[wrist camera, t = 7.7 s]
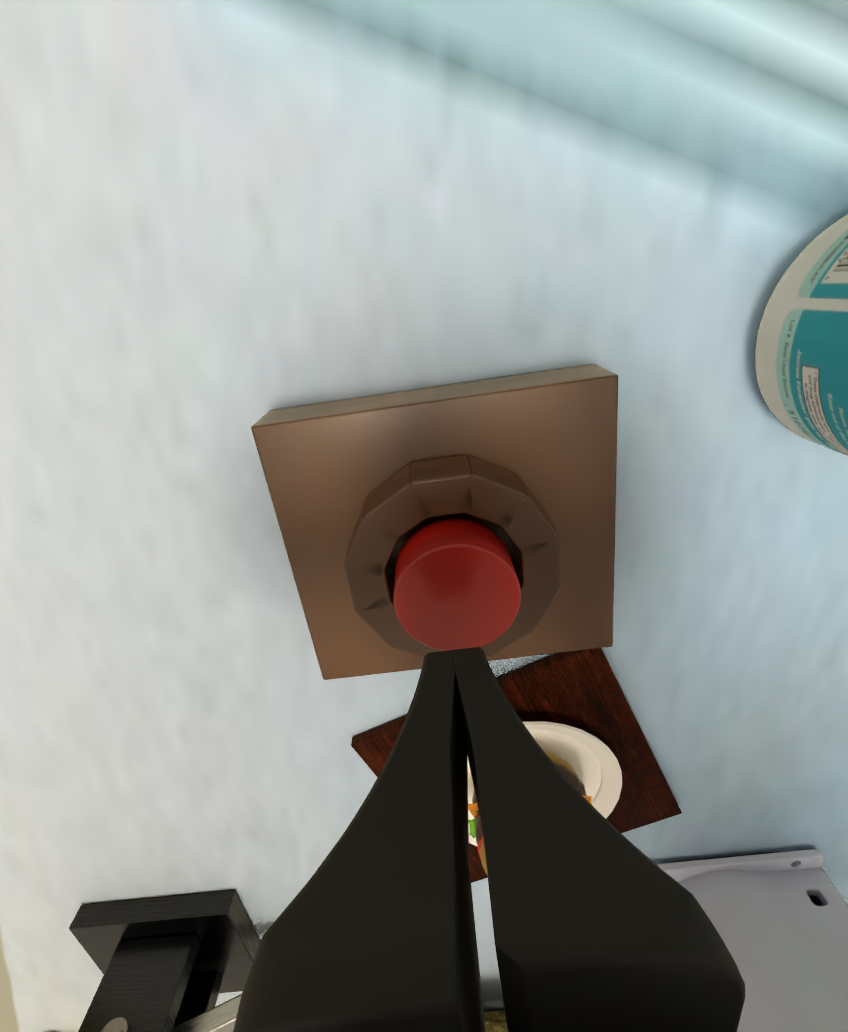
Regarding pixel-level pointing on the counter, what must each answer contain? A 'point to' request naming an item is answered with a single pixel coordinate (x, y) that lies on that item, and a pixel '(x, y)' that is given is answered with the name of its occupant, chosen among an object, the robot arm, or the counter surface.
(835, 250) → the pill bottle
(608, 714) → the hamburger
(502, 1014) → the stone tool
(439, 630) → the button
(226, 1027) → the lever
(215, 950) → the bracket
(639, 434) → the counter surface
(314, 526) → the button block
